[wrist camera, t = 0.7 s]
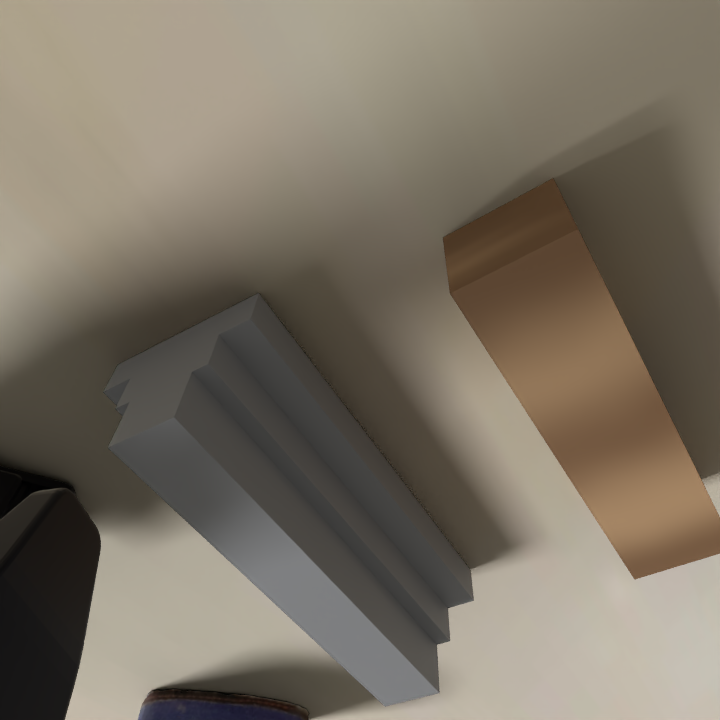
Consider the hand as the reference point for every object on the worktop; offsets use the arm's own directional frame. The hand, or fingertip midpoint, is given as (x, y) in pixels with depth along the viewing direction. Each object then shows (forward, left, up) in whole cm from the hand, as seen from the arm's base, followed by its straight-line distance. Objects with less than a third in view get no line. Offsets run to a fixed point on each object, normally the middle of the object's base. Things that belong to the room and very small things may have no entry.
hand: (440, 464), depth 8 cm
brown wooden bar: (-6, -9, -13) cm, 17 cm away
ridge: (-14, -2, -13) cm, 19 cm away
